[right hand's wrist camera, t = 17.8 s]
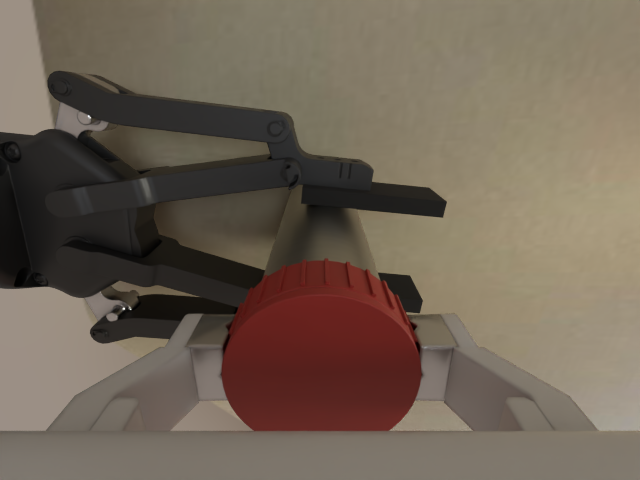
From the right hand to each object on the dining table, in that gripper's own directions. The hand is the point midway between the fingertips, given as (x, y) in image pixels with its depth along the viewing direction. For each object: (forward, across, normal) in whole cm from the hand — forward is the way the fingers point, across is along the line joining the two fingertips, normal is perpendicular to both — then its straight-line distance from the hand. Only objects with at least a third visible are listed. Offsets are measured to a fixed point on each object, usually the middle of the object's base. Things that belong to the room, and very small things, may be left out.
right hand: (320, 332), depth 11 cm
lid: (-2, 0, 0) cm, 2 cm away
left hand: (+8, -5, 0) cm, 9 cm away
